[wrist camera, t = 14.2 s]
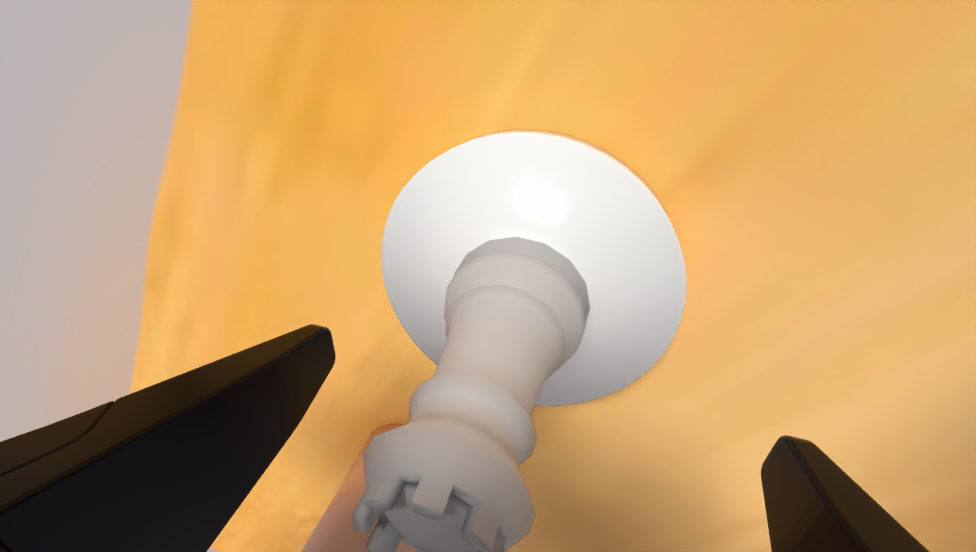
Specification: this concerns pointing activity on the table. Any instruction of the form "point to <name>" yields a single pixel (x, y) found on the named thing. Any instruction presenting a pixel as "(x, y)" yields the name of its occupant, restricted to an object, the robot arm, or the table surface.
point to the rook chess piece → (476, 406)
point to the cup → (347, 512)
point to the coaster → (556, 222)
